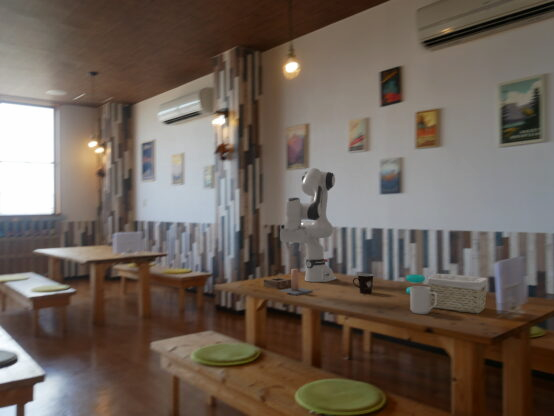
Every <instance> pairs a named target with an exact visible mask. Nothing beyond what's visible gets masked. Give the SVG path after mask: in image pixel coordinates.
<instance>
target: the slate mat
mask: <svg viewBox="0 0 554 416" xmlns="http://www.w3.org/2000/svg"><path fill="white" fill-rule="evenodd" d="M277 291H278V292H284V293H286V295H290V296H295V297H296V296H300V295H305V294H309V293H312V292H313V289H307V288H301V287H298V291H292V290H291V287H287V288H285V289H284V288H282V289H277Z"/></svg>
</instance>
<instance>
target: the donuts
mask: <svg viewBox="0 0 554 416" xmlns="http://www.w3.org/2000/svg"><path fill="white" fill-rule="evenodd" d="M405 279H406V281H408V282H409V283H412V284H413V283H415V284H418V283H419V284H420V283H423V282H424V281H425V280H426V277H425V276H424V275H422V274H413V273H412V274H408V275H406V276H405ZM410 287H412V286H409V287H406V289H405V290H406V293H407V294H409V295H410Z"/></svg>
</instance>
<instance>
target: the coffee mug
mask: <svg viewBox="0 0 554 416" xmlns="http://www.w3.org/2000/svg"><path fill="white" fill-rule="evenodd" d="M355 280H357V281H358V285H357V284H355ZM373 282H374V274H371V273H358V274H357V277H354V278H353V280H352V284H353V285H354V286H355V287H357V288H358V289H359V294H363V295H369V294H370V295H371V294H372V293H373Z"/></svg>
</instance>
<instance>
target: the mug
mask: <svg viewBox="0 0 554 416" xmlns="http://www.w3.org/2000/svg"><path fill="white" fill-rule="evenodd" d="M409 287H410V294H409V299H410V300H409V303H410V306H409V309H410V311H411V312H412V313H414V314H418V315H428V314H429V313H430V312H431V311H432V310H431V309H434V308H433V307H434V306H436V305H437V293H435V292H431V291H430V288H429V286H424V285H413V286H412V287H411V286H409ZM431 293H434V294H435V304H434V306H432V307H431Z"/></svg>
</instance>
